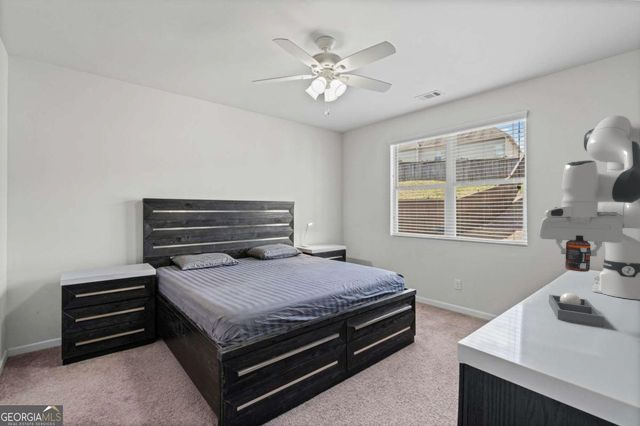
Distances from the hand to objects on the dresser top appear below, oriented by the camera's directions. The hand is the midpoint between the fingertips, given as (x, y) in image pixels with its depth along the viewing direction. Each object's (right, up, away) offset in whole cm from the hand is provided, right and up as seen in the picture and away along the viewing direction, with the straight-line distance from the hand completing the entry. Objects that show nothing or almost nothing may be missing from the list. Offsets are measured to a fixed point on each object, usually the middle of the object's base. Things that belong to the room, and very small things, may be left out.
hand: (577, 255), depth 95 cm
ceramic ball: (+5, -20, +9) cm, 22 cm away
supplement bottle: (0, -5, 0) cm, 5 cm away
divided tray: (+2, -21, +4) cm, 21 cm away
